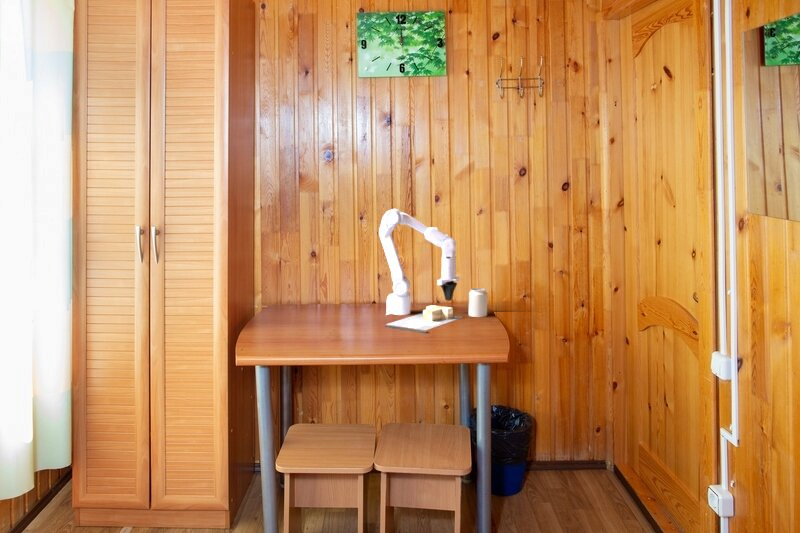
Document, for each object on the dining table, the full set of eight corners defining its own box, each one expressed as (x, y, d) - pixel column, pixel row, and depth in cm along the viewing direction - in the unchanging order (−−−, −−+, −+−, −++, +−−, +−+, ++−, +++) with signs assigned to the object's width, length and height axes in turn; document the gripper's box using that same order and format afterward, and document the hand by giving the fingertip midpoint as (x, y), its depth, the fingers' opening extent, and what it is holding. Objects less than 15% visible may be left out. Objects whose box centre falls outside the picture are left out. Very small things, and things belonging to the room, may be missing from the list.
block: (416, 319, 262) (416, 309, 261) (431, 314, 271) (431, 305, 270) (438, 322, 256) (438, 312, 256) (452, 317, 265) (452, 307, 265)
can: (474, 315, 275) (475, 286, 274) (490, 317, 271) (491, 288, 269) (464, 318, 269) (465, 289, 268) (480, 320, 265) (481, 291, 263)
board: (385, 327, 253) (385, 324, 253) (424, 314, 276) (424, 312, 276) (425, 333, 243) (425, 330, 243) (462, 320, 266) (462, 317, 266)
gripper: (448, 270, 261) (448, 304, 263) (465, 265, 273) (465, 298, 275) (432, 268, 265) (432, 302, 267) (451, 264, 277) (450, 296, 279)
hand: (448, 300), depth 271 cm, fingers closed
